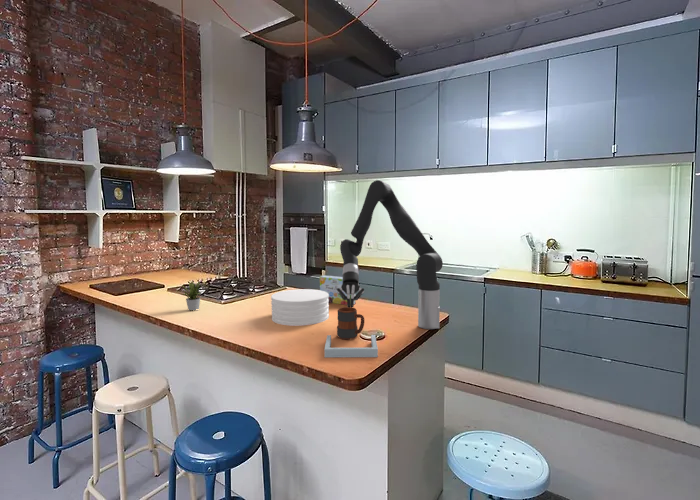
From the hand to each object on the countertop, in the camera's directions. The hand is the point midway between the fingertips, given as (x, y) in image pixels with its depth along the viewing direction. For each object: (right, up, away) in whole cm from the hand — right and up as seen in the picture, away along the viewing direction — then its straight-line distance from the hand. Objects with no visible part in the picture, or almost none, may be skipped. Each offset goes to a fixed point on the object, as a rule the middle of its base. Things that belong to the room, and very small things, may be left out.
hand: (350, 307), depth 165 cm
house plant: (-83, -7, +37) cm, 91 cm away
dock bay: (0, -12, -23) cm, 26 cm away
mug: (0, -11, -10) cm, 15 cm away
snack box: (-7, -5, +50) cm, 51 cm away
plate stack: (-25, -8, +21) cm, 34 cm away
